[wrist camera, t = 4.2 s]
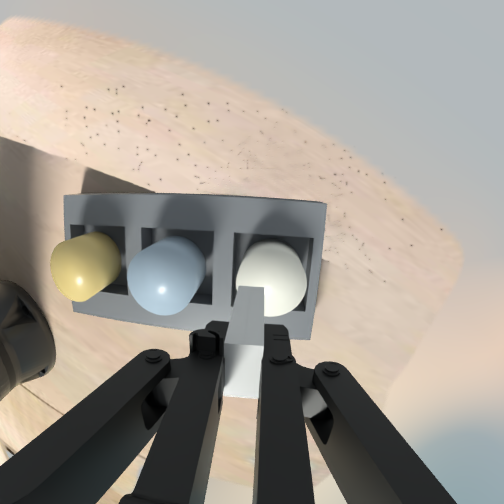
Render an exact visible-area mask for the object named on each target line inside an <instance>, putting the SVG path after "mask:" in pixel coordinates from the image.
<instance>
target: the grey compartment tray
mask: <svg viewBox="0 0 504 504" xmlns="http://www.w3.org/2000/svg"><path fill="white" fill-rule="evenodd" d="M326 209H327V204H326V203H323V202H318V201H307V200H295V199H281V198H267V197H251V196H233V195H211V194H180V193H83V194H72V195H64V230H65V241H66V240H69V239H72V238H75V237H78V236H81V235H84V234H87V233H90V232H96V231H97V232H102V233H104V234H106V235H108V236H109V237H110V238H112V240H113V241H114V242H115V243H116V245H117V247H118V249H119V251H120V255H121V271H120V273H119V276H118V277H117V279H116V280H115V281H114V282H112V283H111V284H109V285H108V286H106V287H105V288H104V289H102V290H101V291H99V292H98V293H96V294H95V295H94V296H92V297H91V298H89V299H88V300H86V301H83V302H76V301H73V300H72V305H73V311H74V312H78V313H83V314H88V315H93V316H98V317H103V318H108V319H114V320H120V321H125V322H131V323H138V324H144V325H150V326H157V327H164V328H172V329H179V330H187V331H195V330H198V329H205V327H206V324H208V323H209V322H211V321H212V320H215V321H226V322H230V318H231V314H232V310H233V306H234V302H235V298H236V294H237V289H236V278H237V274H238V271H239V268H240V265H241V262H242V259H243V256H244V254H245V253H246V251H247V250H248V248H249V247H250V246H252V245H253V244H254V243H256V242H258V241H260V240H264V239H279V240H282V241H284V242H286V243H288V244H289V245H290V246H292V247H293V248H294V250H295V251H296V252H297V254H298V256H299V259H300V261H301V264H302V266H303V269H304V271H305V274H306V278H307V288H306V292H305V295H304V297H303V299H302V301H301V302H300V303H299V304H298V306H297V307H295V308H294V309H293V310H292V311H290V312H288V313H286V314H283V315H280V316H274V317H268V316H264V324H280V325H284V326H285V327H286V328H287V329H288V332H289V338H290V339H297V340H310V338H311V332H312V325H313V319H314V312H315V305H316V298H317V291H318V283H319V275H320V267H321V259H322V250H323V240H324V230H325V220H326ZM169 236H181V237H185V238H187V239H189V240H191V241H192V242H194V243H195V244H196V245H197V246H198V247H199V248H200V250H201V251H202V253H203V255H204V258H205V261H206V274H205V278H204V280H203V282H202V284H201V285H200V287H199V288H198V290H197V291H196V293H195V294H194V296H193V297H192V299H191V301H190V302H189V303H188V305H187V306H186V307H185V308H184V309H183V310H181V311H180V312H178V313H176V314H173V315H157V314H154V313H151V312H149V311H147V310H146V309H144V308H143V307H142V306H140V305H139V304H138V303H137V301H136V300H135V299H134V297H133V296H132V294H131V292H130V289H129V286H128V281H127V273H128V268H129V265H130V262H131V261H132V259H133V258H134V256H135V255H136V254H137V253H139V252H140V251H142V250H143V249H145V248H147V247H149V246H151V245H152V244H154V243H156V242H158V241H160V240H161V239H163V238H166V237H169Z"/></svg>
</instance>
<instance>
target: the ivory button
mask: <svg viewBox="0 0 504 504" xmlns="http://www.w3.org/2000/svg"><path fill="white" fill-rule="evenodd" d="M238 286H253V287H264V316H268V317H274V316H280V315H283V314H286V313H288V312H290V311H292V310H293V309H294V308H295V307H297V306H298V304H299V303H300V302H301V301H302V299H303V297H304V295H305V292H306V288H307V278H306V274H305V271H304V269H303V266H302V264H301V261H300V259H299V256H298V254H297V252H296V251H295V250H294V248H293V247H292V246H290V245H289V244H288V243H286V242H284V241H282V240H279V239H264V240H260V241H258V242H256V243H254V244H253V245H252V246H250V247H249V248H248V250H247V251H246V253H245V254H244V256H243V259H242V262H241V265H240V268H239V271H238V274H237V278H236V289H237V290H238Z"/></svg>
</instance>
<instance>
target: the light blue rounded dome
mask: <svg viewBox="0 0 504 504" xmlns="http://www.w3.org/2000/svg"><path fill="white" fill-rule="evenodd" d="M205 274H206V261H205V258H204V255H203V253H202V251H201V250H200V248H199V247H198V246H197V245H196V244H195V243H194V242H192V241H191V240H189V239H187V238H185V237H181V236H169V237H166V238H163V239H161V240H160V241H158V242H156V243H154V244H152V245H151V246H149V247H147V248H145V249H143V250H142V251H140V252H139V253H137V254H136V255H135V256H134V258H133V259H132V261H131V262H130V265H129V268H128V273H127V281H128V286H129V289H130V292H131V294H132V296H133V297H134V299H135V300H136V301H137V303H138V304H139V305H140V306H142V307H143V308H144V309H146V310H147V311H149V312H151V313H154V314H157V315H173V314H176V313H178V312H180V311H181V310H183V309H184V308H185V307H186V306H187V305H188V303H189V302H190V301H191V299H192V297H193V296H194V294H195V293H196V291H197V290H198V288H199V287H200V285H201V284H202V282H203V280H204V278H205Z"/></svg>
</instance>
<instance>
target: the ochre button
mask: <svg viewBox="0 0 504 504" xmlns="http://www.w3.org/2000/svg"><path fill="white" fill-rule="evenodd" d="M50 266H51V273H52V277H53V280H54V282H55V284H56V286H57V288H58V289H59V290H60V292H61V293H62V294H63V295H64V296H66V297H67V298H69V299H70V300H73V301H76V302H83V301H86V300H88V299H89V298H91V297H92V296H94V295H95V294H96V293H98V292H99V291H101V290H102V289H104V288H105V287H106V286H108V285H109V284H111V283H112V282H114V281H115V280H116V279H117V277H118V276H119V273H120V271H121V255H120V251H119V249H118V247H117V245H116V243H115V242H114V241H113V240H112V238H110V237H109V236H108V235H106V234H104V233H102V232H97V231H96V232H90V233H87V234H84V235H81V236H78V237H75V238H72V239H69V240H66V241H63V242H61V243H59V244H58V245H57V246H56V247H55V249H54V251H53V253H52V256H51V263H50Z"/></svg>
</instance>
